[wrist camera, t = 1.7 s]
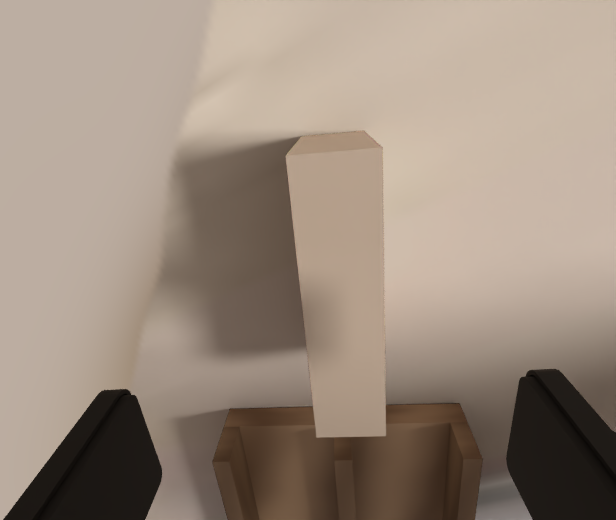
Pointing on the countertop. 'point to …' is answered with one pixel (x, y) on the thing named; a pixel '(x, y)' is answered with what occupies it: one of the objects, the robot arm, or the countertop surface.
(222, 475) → the walnut rack
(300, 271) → the beige rectangular block
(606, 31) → the countertop surface
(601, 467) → the robot arm
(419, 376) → the countertop surface
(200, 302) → the countertop surface
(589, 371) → the countertop surface
